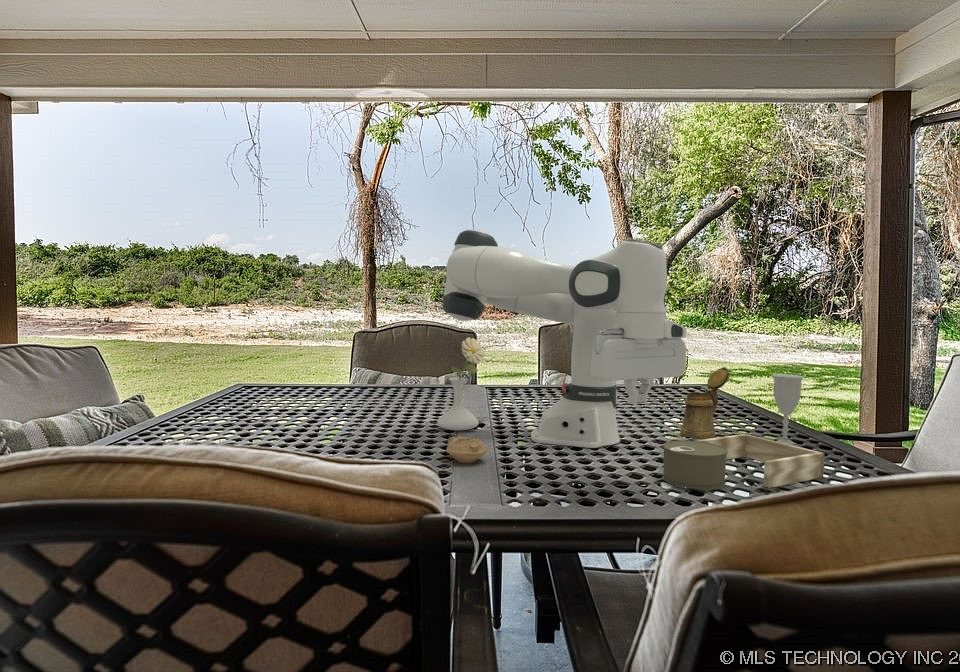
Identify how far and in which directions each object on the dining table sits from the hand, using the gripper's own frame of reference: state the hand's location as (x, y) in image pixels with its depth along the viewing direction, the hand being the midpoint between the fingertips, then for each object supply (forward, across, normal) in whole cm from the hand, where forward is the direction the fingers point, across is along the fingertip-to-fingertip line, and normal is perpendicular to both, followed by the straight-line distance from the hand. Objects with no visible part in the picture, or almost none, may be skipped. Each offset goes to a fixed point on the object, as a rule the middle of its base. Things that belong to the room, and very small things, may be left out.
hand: (637, 402), depth 111 cm
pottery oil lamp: (+17, -19, +34) cm, 42 cm away
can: (+17, +15, 0) cm, 23 cm away
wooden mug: (+17, +50, +29) cm, 60 cm away
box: (+17, +33, 0) cm, 37 cm away
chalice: (+17, +55, +9) cm, 58 cm away
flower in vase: (+17, -7, +62) cm, 64 cm away
